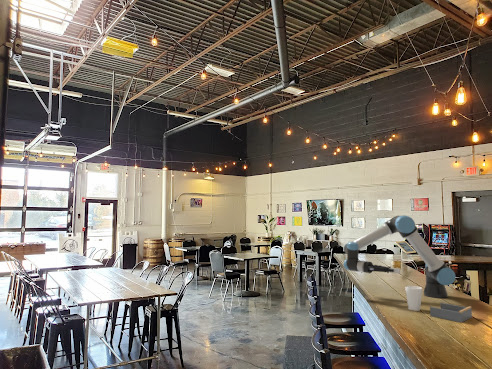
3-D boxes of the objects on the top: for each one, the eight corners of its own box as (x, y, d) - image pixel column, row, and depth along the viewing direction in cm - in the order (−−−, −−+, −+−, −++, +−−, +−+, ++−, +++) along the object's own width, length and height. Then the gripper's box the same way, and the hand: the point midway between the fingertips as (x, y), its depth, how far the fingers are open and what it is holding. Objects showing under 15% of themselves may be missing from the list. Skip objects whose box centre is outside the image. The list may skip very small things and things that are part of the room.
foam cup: (413, 311, 212) (412, 289, 213) (402, 307, 221) (401, 286, 222) (426, 310, 215) (425, 288, 216) (415, 306, 224) (414, 285, 225)
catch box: (441, 311, 214) (441, 301, 214) (471, 317, 202) (471, 306, 202) (430, 316, 203) (429, 305, 204) (461, 322, 191) (461, 311, 192)
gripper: (370, 271, 248) (404, 276, 230) (360, 273, 239) (394, 278, 221) (370, 260, 248) (404, 264, 231) (360, 262, 240) (394, 266, 222)
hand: (399, 271), depth 226 cm, fingers closed
